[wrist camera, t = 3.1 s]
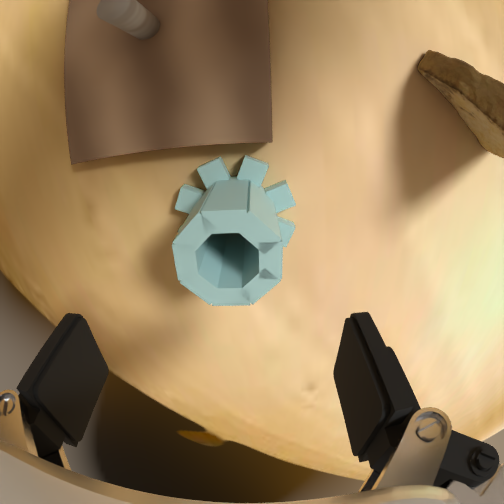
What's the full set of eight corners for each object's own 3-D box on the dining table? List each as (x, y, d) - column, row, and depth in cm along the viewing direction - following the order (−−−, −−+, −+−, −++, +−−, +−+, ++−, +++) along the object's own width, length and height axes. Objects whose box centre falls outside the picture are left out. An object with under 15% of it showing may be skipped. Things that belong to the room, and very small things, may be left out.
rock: (393, 64, 13) (461, 199, 15) (501, 15, 5) (565, 185, 7) (431, 51, 17) (479, 145, 19) (500, 23, 9) (548, 130, 11)
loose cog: (294, 154, 18) (317, 176, 12) (292, 262, 22) (306, 323, 15) (173, 159, 18) (133, 185, 12) (186, 264, 22) (163, 324, 16)
